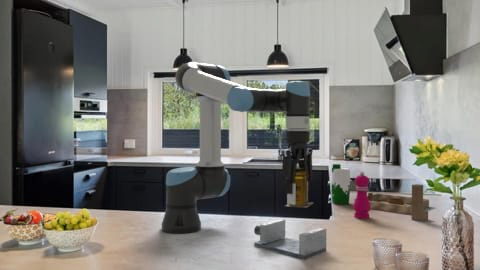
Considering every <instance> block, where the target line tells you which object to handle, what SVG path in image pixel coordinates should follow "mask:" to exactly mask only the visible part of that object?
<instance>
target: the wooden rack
mask: <svg viewBox="0 0 480 270" xmlns="http://www.w3.org/2000/svg"><path fill="white" fill-rule="evenodd" d="M373 194H374V193H373V192H367V196H368V198H369V199H370V201H371V199H372V198H373ZM387 202H388V203H389V204H397V205H404V206H409V204H404V200H403V199H399V198H389V199H388V201H387Z"/></svg>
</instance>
